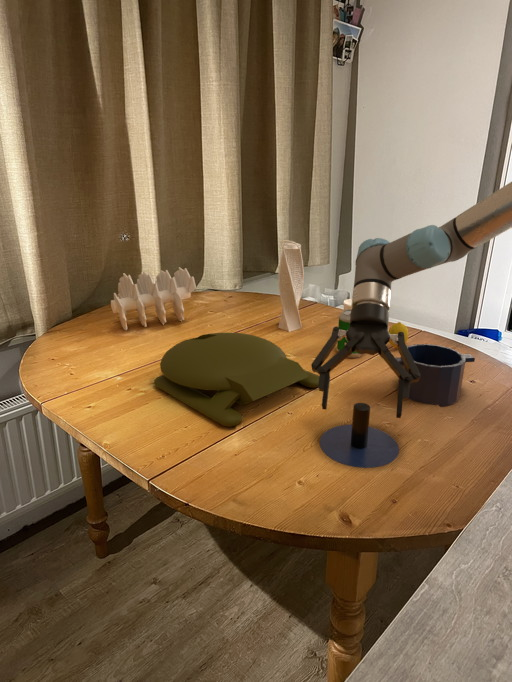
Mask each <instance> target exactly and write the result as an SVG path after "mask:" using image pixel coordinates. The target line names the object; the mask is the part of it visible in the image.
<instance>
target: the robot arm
mask: <svg viewBox="0 0 512 682" xmlns="http://www.w3.org/2000/svg"><path fill="white" fill-rule="evenodd" d="M511 229H512V181H510V182H508V183H507V184H505V185H504V186H502V187H501V188H499V189H497V190H496V191H494V192H492V193H491V194H489V195H488V196H487V197H485V198H483V199H481V200H480V201H479V202H477V203H475V204H474V205H472V206H471V207H469V208H467V209H466V210H465V211H463V212H461V213H459V214H458V215H457V216H454V218H452V219H450V220H448V221H447V222H445V223H443V224H442V225H441V226H437V225H435V224H431V225H427V226H424V227H421V228H417V229H415V230H413V231H412V232H410V233H408V234H406V235H403V236H401V237H399V238H397V239H394V240H393V241H390V240H388V239H386V238H382V237H375V238H374V239H373V238H369V239H365V240H363V242H361V243H360V245H359V246H358V248H357V254H356V259H355V261H354V263H355V269H354V282H353V288H352V297H351V299H352V309H351V315H350V325H349V329H348V330H347V331H345V330H340V329H339V328H338V326H334V327H332V331H331V334H330V337H328V338H329V339H328V340H327V341H326V343H325V344H324V345H323V346H322V348H321V350H320V351H319V353H318V354H317V356H316V357H315V359H313V361H312V362H311V364H310V366H311V367H310V368H311V371H312V373H315V374H316V373H317V374H318V376H319V383H318V387H317V388H318V391H319V392H322V399H321V409H322V410H325V411H326V410H327V407H328V400H329V392H330V383H331V374H330V373H331V372H332V371H333V370H335V368H336V367H338V366H339V365H340V364H341V363H342V362H343V361H344V360H346V359H348V358H347V357H348V356H349V355H351V354H352V353H353V352H354V351H356V352H357V353H358V354H362V355H363V354H364V355H365V354H367V355H369V356H375V355H376V354H377V355H379V357H380V358H381V359H383V360H384V362H385V363H386V364H387V365H388V367H389V368H390V370H392V372H393V373H394V374H395V375H396V376H397V379H398V378H399V379H400V380H399V384H398V383H397V388H398V390H397V398H396V416H395V418H397V419H402V418H401V417H402V415H403V401H408V397H409V389H410V383H412V382H418V381H419V379H420V376H421V375H420V372H419V370H418V368H417V366H416V364H415V362H414V360H413V358H412V356H411V354H410V352H409V350H408V348H407V346H408V345H407V343H406V344H405V337H404V333H403V332H399V333H398V334H389V323H390V322H389V321H390V312H389V311H390V308H391V307H390V306H391V292H392V284H393V282H394V281H397V280H400V279H402V278H405V277H408V276H411V275H414V274H416V273H420V272H422V271H425V270H428V269H429V270H430V269H432V268H435V267H438V266H440V265H441V266H442V265H444V264H447V263H452V262H457V261H459V260H460V259H463V258H464V257H465V256H467V255H468V254H470V252H472V251H474V250H475V249H476V248H478V247H480V246H481V245H483V244H486V243H488V242H489V241H491V240H492V239H495V238H496V237H498V236H500V235H502V234H503V233H505V232H507V231H509V230H511ZM343 337H346V338H347V340H348V343H347V344H346V345H345V346H344V347H343V348H342V349H341V350H340V351H339V352H338V351H337V353H335V354H334V355H333V356H332V357H331V358H329V359H328V357H329V356H330V354H331V353H332V352H333V350H334V349H335V347H337V342H338V341H340V340H342V338H343ZM389 341H392V342H393V344H394V345H395V346H397V348H398V349H397V351H398V353H399V355H400V357H402V359H403V361H404V363H405V365H406V368H407V370H408V372H409V374H408V373H407V372H406V371H405V369H404V368H403V367H402V366H401V364H400V363H399V362H398V361H397V360H396V357H395V355H394V354H393V353H392V352H391V351H390V349H389V347H388V343H389ZM327 359H328V360H327ZM325 361H326V362H325Z"/></svg>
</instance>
